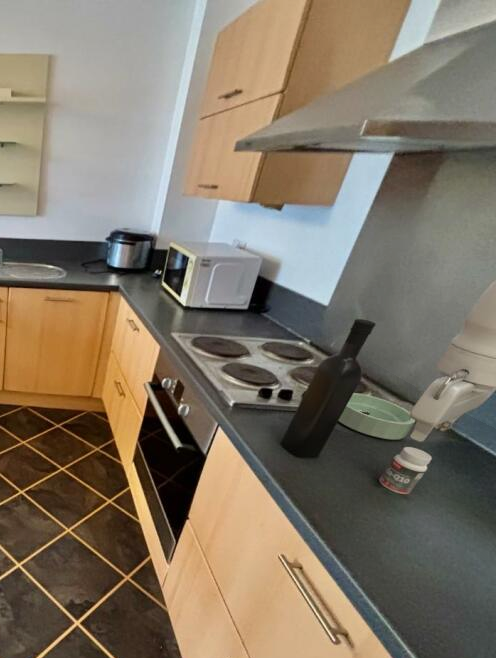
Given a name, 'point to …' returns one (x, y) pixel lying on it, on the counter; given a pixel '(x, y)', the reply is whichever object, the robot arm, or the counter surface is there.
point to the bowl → (376, 417)
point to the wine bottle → (327, 395)
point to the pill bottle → (405, 470)
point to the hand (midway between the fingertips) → (428, 433)
